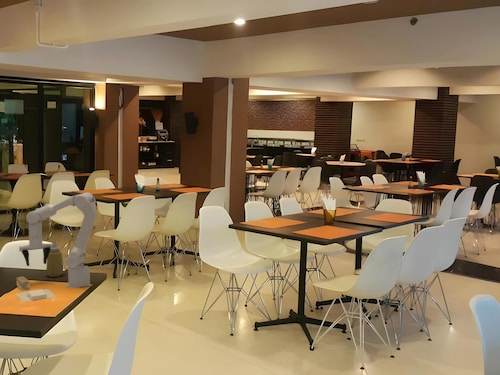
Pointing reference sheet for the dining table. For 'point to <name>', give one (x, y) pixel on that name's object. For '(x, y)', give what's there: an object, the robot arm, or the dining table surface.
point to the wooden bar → (23, 283)
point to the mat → (26, 298)
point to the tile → (37, 294)
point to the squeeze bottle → (54, 261)
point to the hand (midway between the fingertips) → (36, 264)
